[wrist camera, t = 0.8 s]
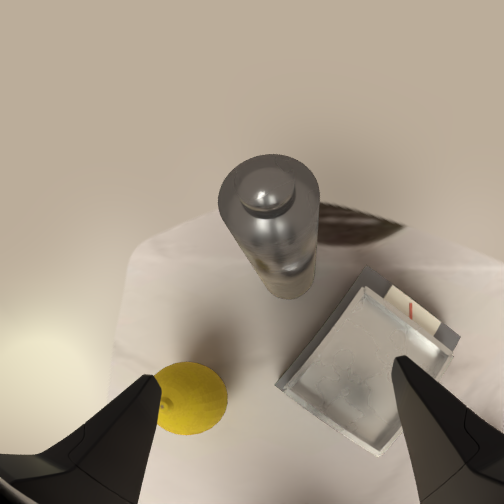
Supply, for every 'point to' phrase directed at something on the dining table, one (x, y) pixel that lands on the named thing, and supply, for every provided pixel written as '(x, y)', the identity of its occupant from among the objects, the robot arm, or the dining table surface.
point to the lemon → (190, 398)
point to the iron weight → (274, 220)
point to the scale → (367, 360)
